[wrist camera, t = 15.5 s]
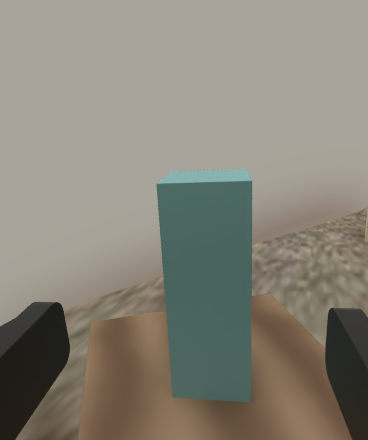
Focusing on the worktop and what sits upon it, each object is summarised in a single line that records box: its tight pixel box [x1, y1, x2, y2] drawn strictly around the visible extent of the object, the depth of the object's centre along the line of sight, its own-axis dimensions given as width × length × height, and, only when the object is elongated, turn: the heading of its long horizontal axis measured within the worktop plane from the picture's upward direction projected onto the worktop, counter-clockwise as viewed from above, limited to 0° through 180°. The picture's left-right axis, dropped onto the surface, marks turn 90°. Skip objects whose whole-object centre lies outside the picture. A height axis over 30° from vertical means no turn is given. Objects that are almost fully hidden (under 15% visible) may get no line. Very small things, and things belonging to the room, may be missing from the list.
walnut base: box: [78, 294, 352, 440], centre depth 23 cm, size 18×18×4 cm
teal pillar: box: [157, 169, 252, 403], centre depth 21 cm, size 5×5×14 cm
